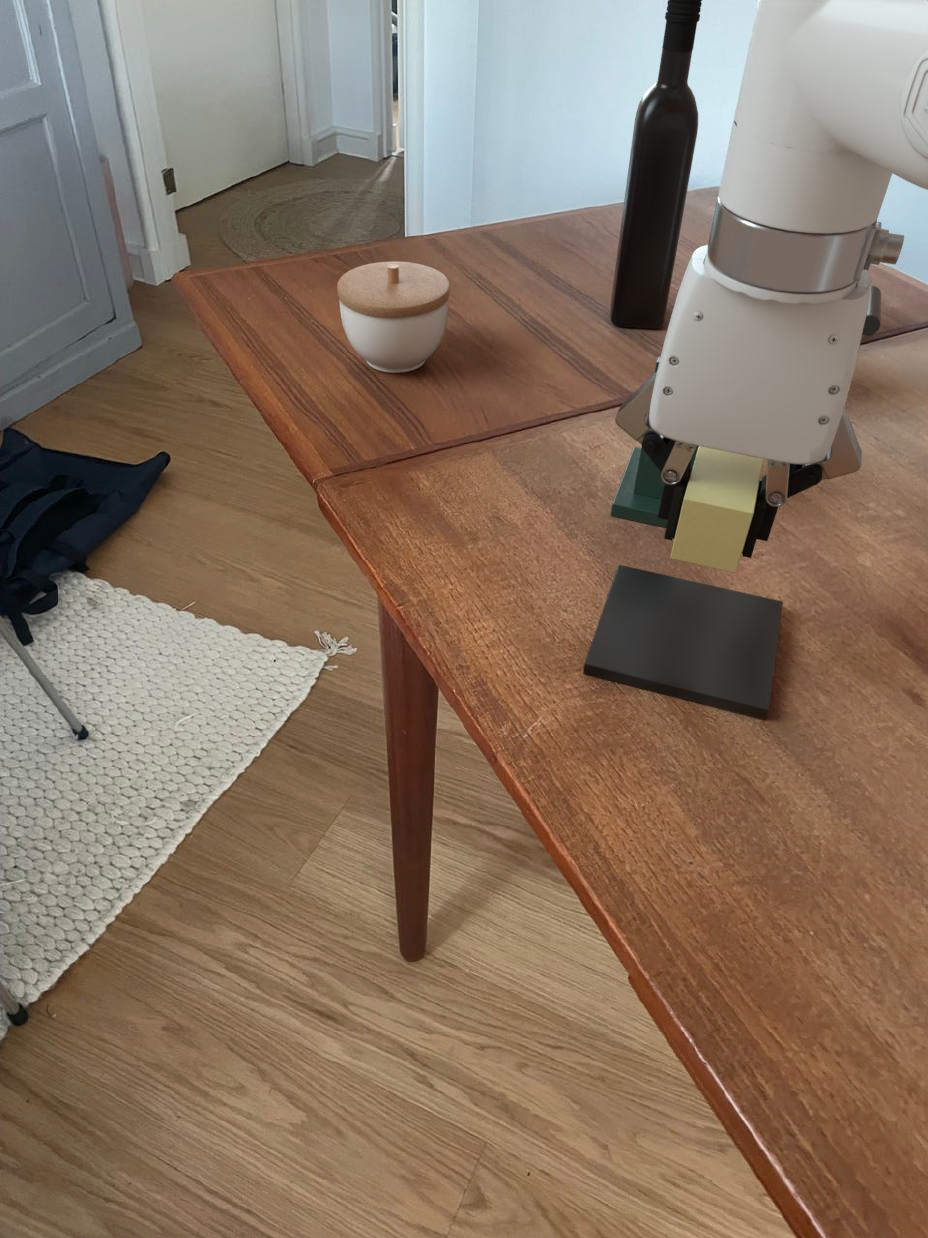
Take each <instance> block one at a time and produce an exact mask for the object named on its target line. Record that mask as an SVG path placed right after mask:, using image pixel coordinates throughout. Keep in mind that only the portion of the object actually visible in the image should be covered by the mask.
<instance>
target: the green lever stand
mask: <svg viewBox="0 0 928 1238" xmlns="http://www.w3.org/2000/svg"><path fill="white" fill-rule="evenodd" d="M660 358H661V356H658V357H657V360H656V363H655V369H654V373H656V372H657V370H658V366H659V362H660ZM698 447H699V446H697V447H696V449H695V451H694V453H693V455H692V457H691V459H690V460H691V462H692V463H691V467H693V465H694V461H695V457H696V454H697V450H698ZM664 484H665V483H664V482H663V481H662V479H661V471H660V470H659V469H658V468H657V466H656V465H655V464H654V463H653V461H652V460H651V459H650V457H649V456H648V455H647V454H646V452H645V451H644V450H643V448H642V446H641V447H637V446H634V447H633V448H632V452H631V454H630V457H629V459H628V462H627V464H626V467H625V469H624V472H623V475H622V478H621V480H620V483H619V486H618V488H617V490H616V494H615V497H614V499H613V501H612V504H611V510H610V516H611V517H614V518H619V519H624V520H629V521H634V522H638V523H643V524H648V525H653V526H657V527H662V528H666V527H667V523H668V520H666V519H662V518H658V513H659V508H660V503H661V499H662V494H663V489H664Z"/></svg>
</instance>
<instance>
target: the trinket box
mask: <svg viewBox="0 0 928 1238" xmlns="http://www.w3.org/2000/svg"><path fill="white" fill-rule="evenodd" d="M336 289H337V298H338V300H339V311H340V318H341V323H342V327H343V331H344V333H345V336H346V338H347V340H348V343H349V344H350V346H351V347H352V348H353V350H354V351H355V353H357V355H359V356H360V357H361V358H362V359H363V360H365V362H366V364H367V365H368V366H369V367H371V368H372V369H374V370H376V371H380V372H384V373H390V374H400V373H408V372H412V371H415V370H417V369H419V368H421V367H422V366H423V365H424V364H425V363H426V361H427V360H428V359H429V358H431V356H432V355H434V353H435V352H436V350H437V349H438V347H439V346H440V345H441V342H442V340H443V338H444V335H445V332H446V329H447V324H448V316H449V299H450V293H451V284H450V281H449V279H448V278H447V276H446V275H445V274H443V272H441V271H439V270H438V269H435V268H433V267H430V266H427V265H425V264H421V263H416V262H409V261H396V260H395V261H378V262H372V263H367V264H363V265H360V266H357V267H353V268H352V269H350V270H348V271H346V272H345V273H343V274H342V276H341V277H340V278H339V279H338V281H337V284H336Z"/></svg>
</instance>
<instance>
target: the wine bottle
mask: <svg viewBox="0 0 928 1238" xmlns="http://www.w3.org/2000/svg"><path fill="white" fill-rule="evenodd" d="M702 1H703V0H667V6H666V11H665V15H664V19H665V26H664V27H665V28H664V33H663V34H664V35H663V40H662V47H661V48H662V49H661V56H660V61H659V62H660V63H659V70H658V76H657V81H656V83H654V84H652V86H651V87H649V88H648V90H646V92H645V93H644V94H643V96H642V97H641V99H640V100H639V103H638V106H637V109H636V111H635V117H634V124H633V133H632V138H631V139H632V140H631V145H630V146H631V147H630V152H629V153H630V156H629V160H628V161H629V162H628V167H627V168H628V169H627V177H626V184H625V192H624V200H623V208H622V213H621V221H620V229H619V238H618V244H617V252H616V258H615V259H616V260H615V268H614V274H613V281H612V282H613V283H612V290H611V298H610V305H609V306H610V307H609V309H610V321H611V323H612V325H614V326H617V327H621V328H632V329H633V328H635V329H647V330H648V329H650V330H651V329H652V330H658V329H660V328H662V327H663V326H664V324H665V321H666V314H667V307H668V302H669V296H670V292H671V285H672V279H673V275H674V274H673V273H674V267H675V261H676V256H677V251H678V246H679V239H680V234H681V228H682V222H683V217H684V211H685V205H686V200H687V194H688V188H689V182H690V176H691V171H692V165H693V160H694V155H695V148H696V144H697V138H698V132H699V131H698V130H699V110H698V105H697V101H696V97H695V95H694V93H693V90H692V89H691V87H690V86H689V83H688V81H689V74H690V68H691V62H692V56H693V50H694V46H695V45H694V44H695V39H696V34H697V33H696V32H697V26H698V22H699V21H700V19H701V14H700V13H701V11H702V10H701V9H702V4H703V3H702Z"/></svg>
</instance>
